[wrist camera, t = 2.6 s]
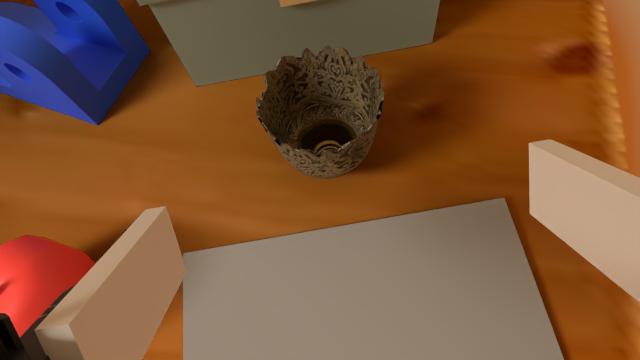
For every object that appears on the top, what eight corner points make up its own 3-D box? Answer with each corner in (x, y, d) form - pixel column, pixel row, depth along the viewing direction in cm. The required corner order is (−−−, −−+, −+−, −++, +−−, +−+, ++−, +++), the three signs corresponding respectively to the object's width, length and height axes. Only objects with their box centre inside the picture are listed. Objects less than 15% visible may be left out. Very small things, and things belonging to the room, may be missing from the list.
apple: (151, 305, 28) (77, 280, 21) (52, 406, 26) (-68, 415, 19) (85, 231, 31) (0, 186, 24) (-9, 317, 29) (-133, 296, 22)
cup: (300, 107, 34) (282, 33, 27) (391, 128, 32) (398, 55, 25) (265, 189, 31) (235, 131, 24) (363, 217, 29) (362, 164, 22)
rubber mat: (187, 438, 25) (183, 439, 24) (185, 255, 29) (182, 253, 29) (566, 377, 24) (570, 377, 24) (502, 200, 29) (504, 197, 28)
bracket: (151, 51, 38) (93, -37, 30) (99, 126, 35) (19, 50, 27) (3, 11, 43) (-82, -75, 35) (-55, 74, 40) (-162, -4, 32)
